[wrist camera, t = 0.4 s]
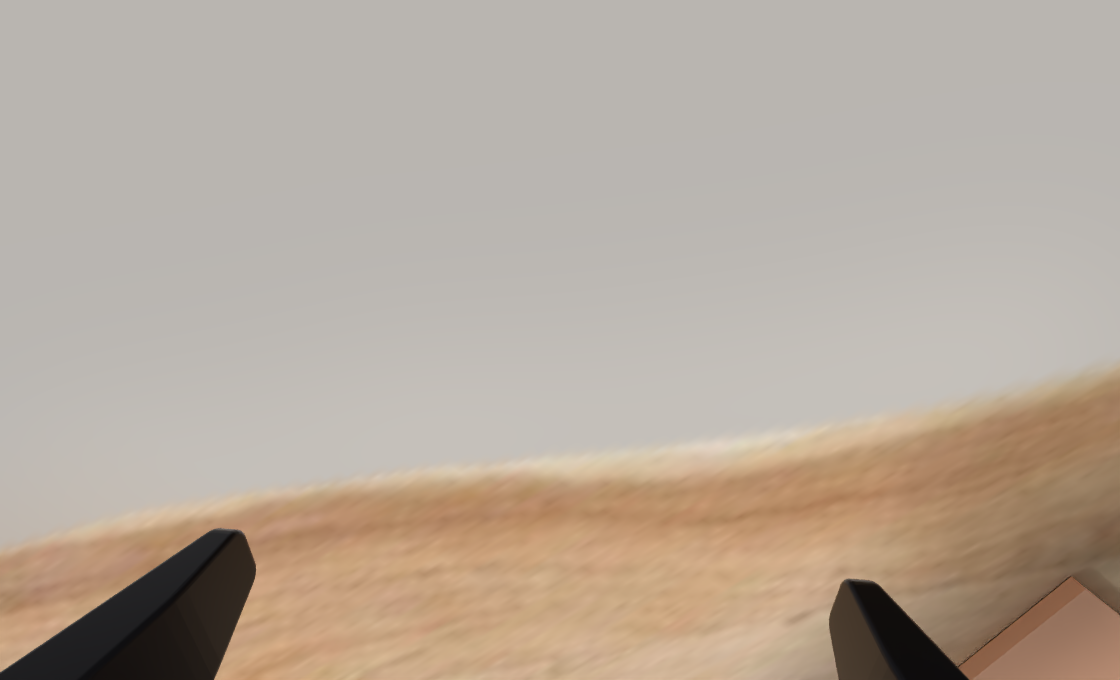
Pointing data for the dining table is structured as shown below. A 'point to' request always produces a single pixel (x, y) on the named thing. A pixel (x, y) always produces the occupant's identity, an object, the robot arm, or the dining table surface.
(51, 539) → the dining table surface
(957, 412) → the dining table surface
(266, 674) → the dining table surface
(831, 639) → the robot arm
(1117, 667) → the terracotta tile
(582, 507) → the dining table surface
